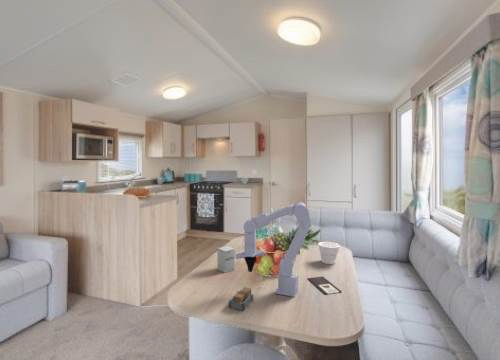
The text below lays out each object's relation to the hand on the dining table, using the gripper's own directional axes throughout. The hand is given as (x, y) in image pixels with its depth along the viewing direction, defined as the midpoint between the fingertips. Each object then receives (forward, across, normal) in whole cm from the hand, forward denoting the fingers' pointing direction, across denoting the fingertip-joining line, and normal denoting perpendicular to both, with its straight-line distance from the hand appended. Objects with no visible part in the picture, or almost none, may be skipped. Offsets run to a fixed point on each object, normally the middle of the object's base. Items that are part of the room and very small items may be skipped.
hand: (250, 271), depth 140 cm
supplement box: (+9, -4, +28) cm, 30 cm away
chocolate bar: (+10, +36, -10) cm, 39 cm away
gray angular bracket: (+9, -9, -12) cm, 18 cm away
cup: (+9, +59, +17) cm, 62 cm away
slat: (+9, -8, -11) cm, 17 cm away
